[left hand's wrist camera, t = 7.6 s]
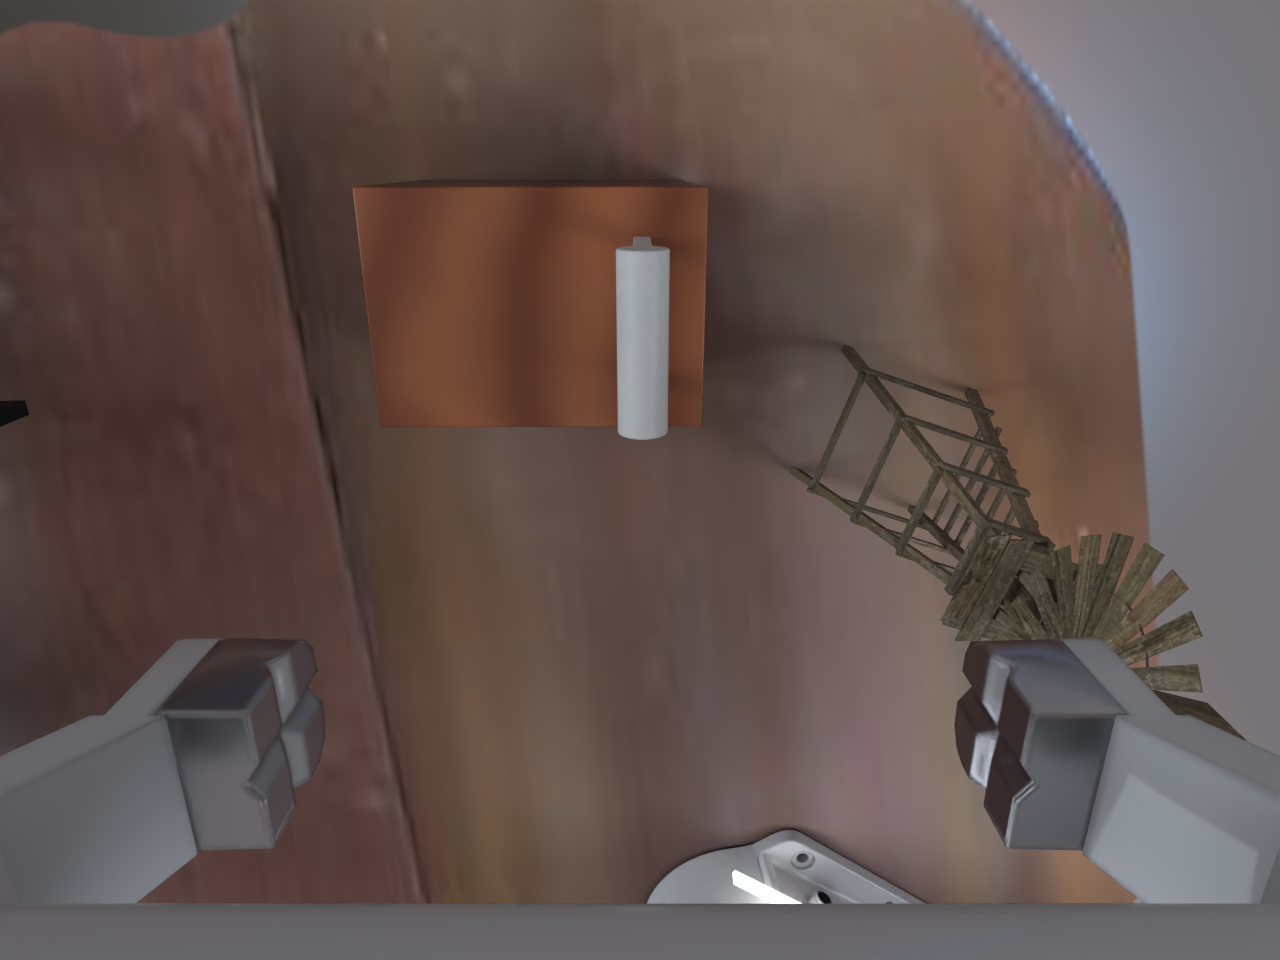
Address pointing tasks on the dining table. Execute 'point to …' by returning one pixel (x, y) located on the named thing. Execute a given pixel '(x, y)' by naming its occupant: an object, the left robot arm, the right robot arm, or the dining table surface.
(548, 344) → the wooden panel with handle
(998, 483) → the miniature windmill
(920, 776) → the dining table surface
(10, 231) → the dining table surface
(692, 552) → the dining table surface
